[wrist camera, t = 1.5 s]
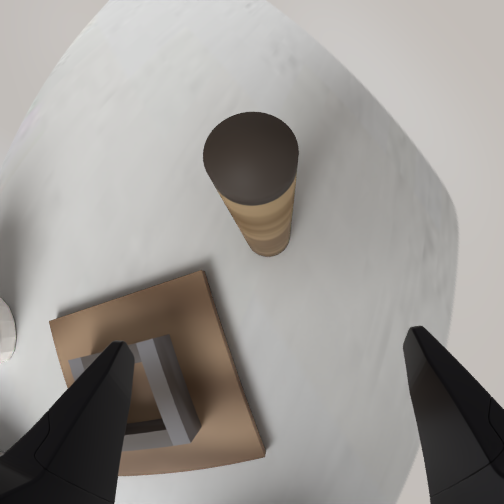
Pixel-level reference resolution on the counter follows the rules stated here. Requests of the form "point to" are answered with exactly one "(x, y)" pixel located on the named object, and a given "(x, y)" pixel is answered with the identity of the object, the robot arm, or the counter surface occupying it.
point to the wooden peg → (255, 176)
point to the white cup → (6, 332)
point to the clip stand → (168, 377)
